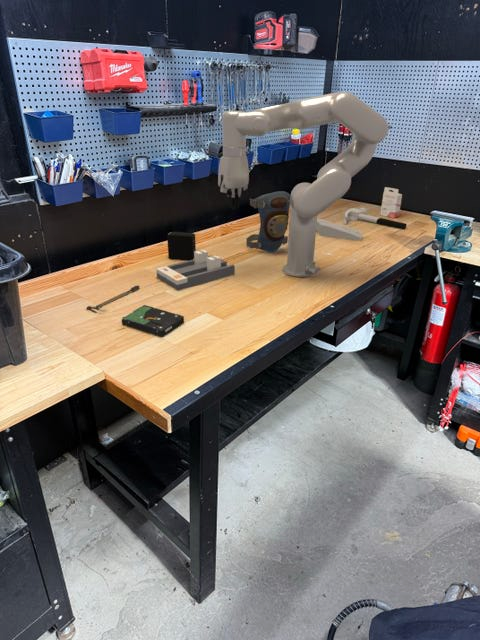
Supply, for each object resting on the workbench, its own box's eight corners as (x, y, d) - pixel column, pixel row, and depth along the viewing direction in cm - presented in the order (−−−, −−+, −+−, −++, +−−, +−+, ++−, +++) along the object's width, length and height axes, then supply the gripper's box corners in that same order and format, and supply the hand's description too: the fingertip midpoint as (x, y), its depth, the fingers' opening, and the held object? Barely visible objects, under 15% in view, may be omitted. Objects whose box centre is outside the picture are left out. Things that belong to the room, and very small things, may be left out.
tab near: (221, 270, 162) (220, 256, 159) (211, 273, 160) (211, 258, 157) (216, 268, 164) (215, 254, 162) (207, 270, 162) (206, 256, 159)
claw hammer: (414, 217, 223) (359, 205, 240) (395, 227, 209) (338, 213, 225) (411, 228, 226) (357, 215, 243) (392, 238, 211) (336, 224, 228)
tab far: (208, 264, 167) (207, 250, 165) (199, 266, 165) (198, 252, 163) (203, 262, 170) (203, 248, 167) (194, 264, 167) (194, 250, 165)
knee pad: (258, 258, 180) (260, 194, 168) (238, 244, 196) (238, 184, 184) (298, 252, 186) (302, 190, 175) (275, 239, 202) (278, 181, 191)
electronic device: (193, 261, 177) (192, 236, 172) (168, 259, 178) (166, 234, 174) (196, 257, 180) (195, 233, 176) (172, 255, 182) (170, 231, 177)
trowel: (372, 238, 207) (374, 226, 204) (353, 245, 197) (354, 233, 195) (322, 225, 225) (323, 214, 222) (302, 232, 215) (303, 220, 212)
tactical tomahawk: (100, 318, 135) (99, 314, 135) (85, 310, 138) (85, 307, 138) (150, 293, 151) (150, 290, 150) (136, 287, 154) (136, 284, 153)
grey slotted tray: (234, 274, 165) (234, 265, 163) (177, 290, 151) (177, 280, 150) (212, 263, 174) (212, 254, 173) (156, 277, 161) (156, 268, 159)
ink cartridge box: (399, 216, 240) (404, 188, 233) (394, 218, 237) (398, 189, 230) (384, 213, 246) (389, 185, 239) (379, 215, 242) (383, 186, 236)
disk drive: (185, 324, 131) (144, 312, 138) (184, 315, 130) (144, 303, 136) (162, 339, 123) (121, 326, 130) (162, 330, 122) (120, 317, 128)
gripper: (244, 149, 156) (244, 203, 164) (208, 152, 147) (210, 209, 156) (259, 151, 150) (257, 207, 159) (222, 155, 142) (223, 213, 150)
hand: (234, 208), depth 157 cm, fingers closed
